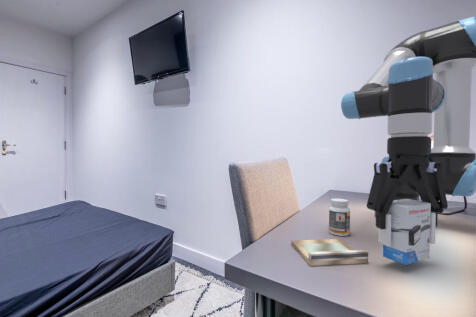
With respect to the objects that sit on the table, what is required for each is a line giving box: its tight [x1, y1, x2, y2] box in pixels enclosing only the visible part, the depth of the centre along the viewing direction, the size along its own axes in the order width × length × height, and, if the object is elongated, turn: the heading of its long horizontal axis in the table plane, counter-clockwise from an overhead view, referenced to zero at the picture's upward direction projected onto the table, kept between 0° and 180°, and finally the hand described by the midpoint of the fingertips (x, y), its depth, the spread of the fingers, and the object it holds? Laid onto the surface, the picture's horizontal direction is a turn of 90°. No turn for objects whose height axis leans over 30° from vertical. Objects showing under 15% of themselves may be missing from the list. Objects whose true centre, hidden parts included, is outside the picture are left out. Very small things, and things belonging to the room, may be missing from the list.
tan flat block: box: [290, 238, 369, 267], centre depth 58 cm, size 13×12×2 cm
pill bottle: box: [328, 198, 351, 237], centre depth 72 cm, size 6×6×10 cm
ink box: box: [382, 199, 431, 266], centre depth 52 cm, size 8×5×12 cm, turn 114°
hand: (406, 242), depth 52 cm, fingers closed on ink box, 9 cm apart
